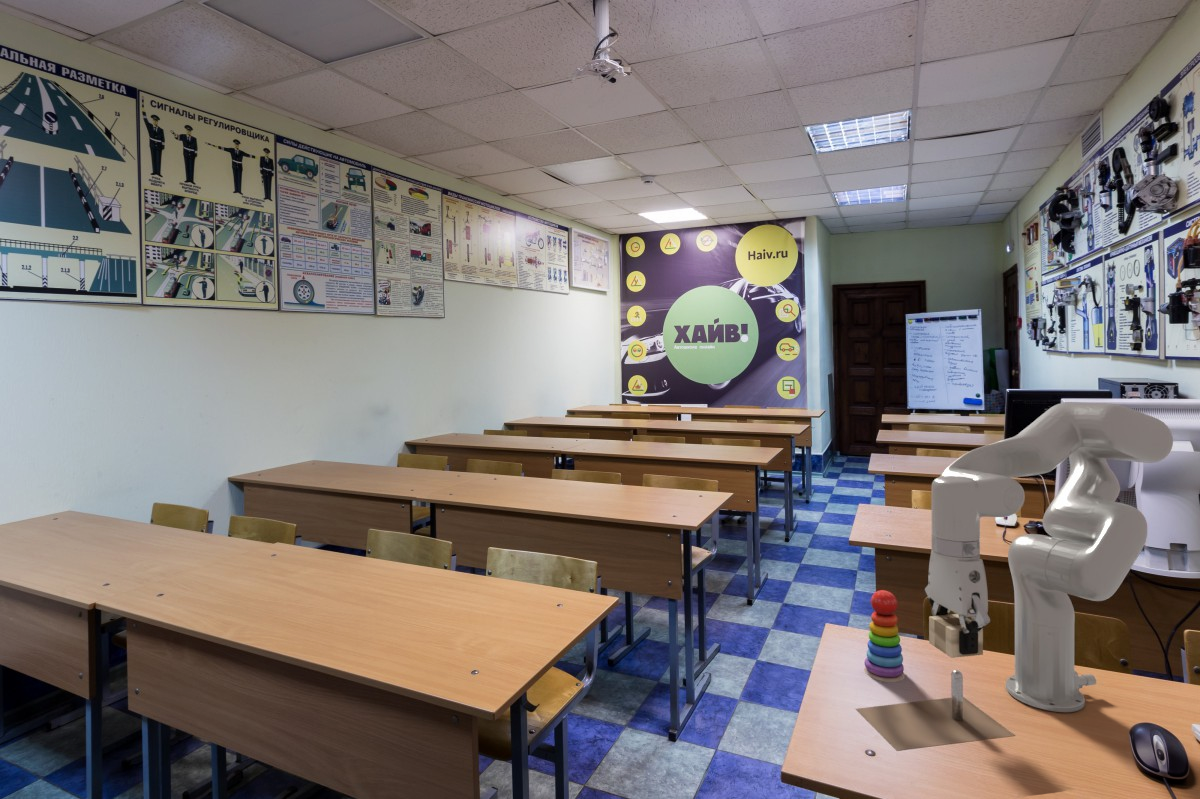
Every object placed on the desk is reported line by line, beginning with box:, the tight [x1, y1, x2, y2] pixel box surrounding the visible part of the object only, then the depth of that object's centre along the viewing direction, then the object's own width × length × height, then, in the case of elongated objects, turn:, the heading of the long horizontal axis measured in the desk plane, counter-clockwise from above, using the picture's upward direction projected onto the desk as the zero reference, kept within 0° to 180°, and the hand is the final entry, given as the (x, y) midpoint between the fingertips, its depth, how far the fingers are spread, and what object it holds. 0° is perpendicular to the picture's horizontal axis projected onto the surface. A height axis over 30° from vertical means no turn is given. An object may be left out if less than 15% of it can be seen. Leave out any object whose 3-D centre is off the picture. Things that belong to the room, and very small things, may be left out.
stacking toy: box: [863, 589, 906, 683], centre depth 131 cm, size 8×8×19 cm
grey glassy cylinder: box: [950, 669, 964, 721], centre depth 113 cm, size 2×2×9 cm
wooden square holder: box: [928, 613, 984, 659], centre depth 113 cm, size 6×6×5 cm
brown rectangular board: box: [855, 696, 1016, 752], centre depth 113 cm, size 22×13×2 cm, turn 97°
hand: (955, 644), depth 113 cm, fingers closed on wooden square holder, 5 cm apart
